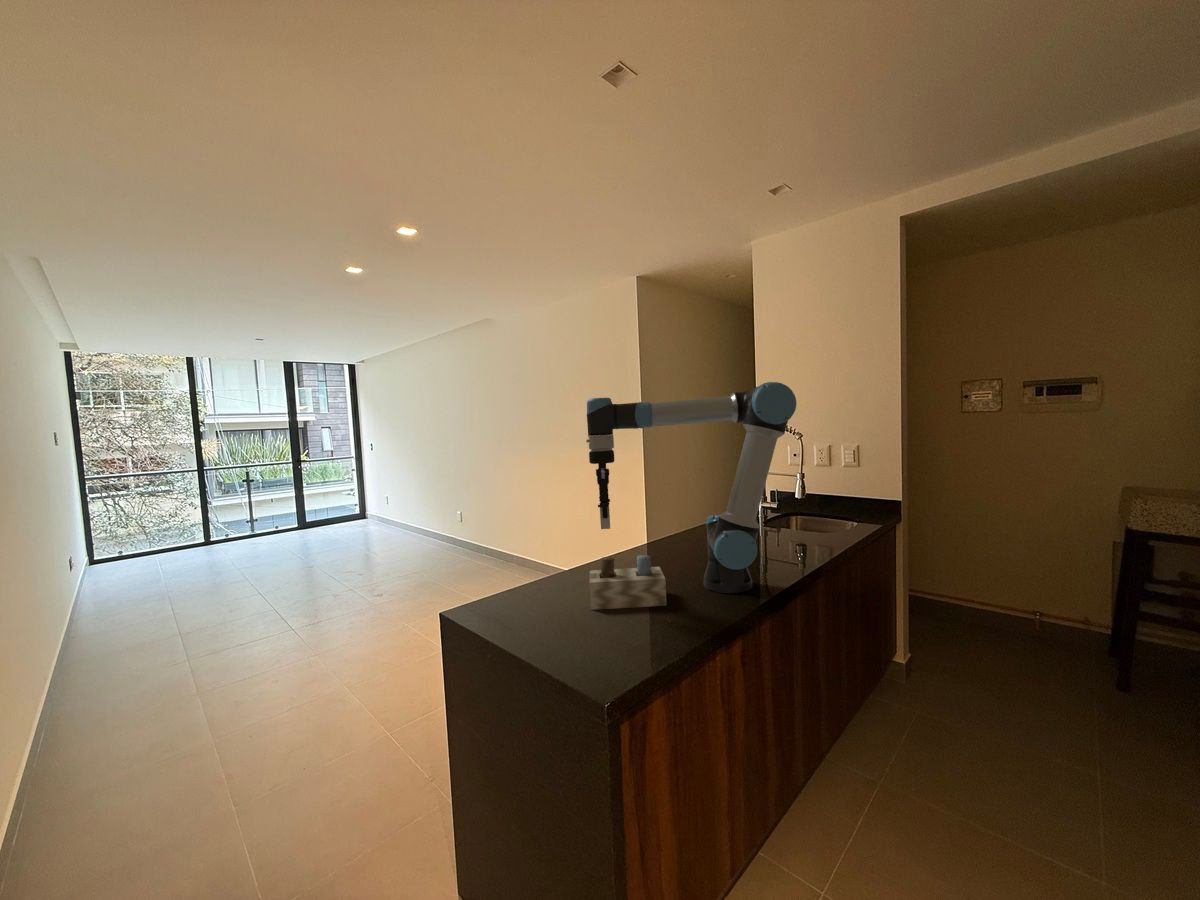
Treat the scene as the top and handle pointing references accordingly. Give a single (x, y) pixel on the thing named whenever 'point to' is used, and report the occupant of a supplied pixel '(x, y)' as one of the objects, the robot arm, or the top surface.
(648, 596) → the birch block
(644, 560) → the blue peg
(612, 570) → the walnut peg
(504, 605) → the top surface
